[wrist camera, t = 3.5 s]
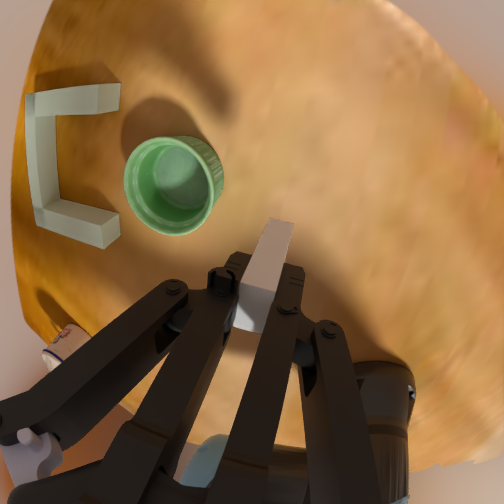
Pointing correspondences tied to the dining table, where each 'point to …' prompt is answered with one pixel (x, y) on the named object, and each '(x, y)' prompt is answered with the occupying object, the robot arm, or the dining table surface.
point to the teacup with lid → (64, 345)
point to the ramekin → (173, 183)
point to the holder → (45, 162)
